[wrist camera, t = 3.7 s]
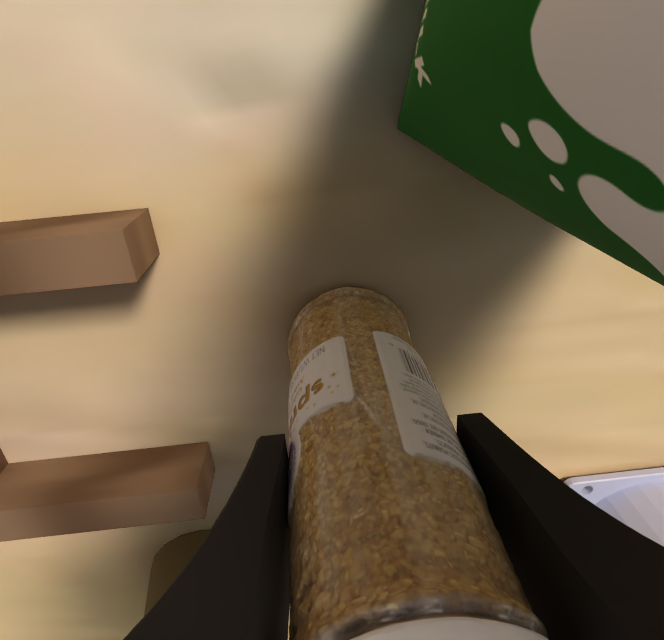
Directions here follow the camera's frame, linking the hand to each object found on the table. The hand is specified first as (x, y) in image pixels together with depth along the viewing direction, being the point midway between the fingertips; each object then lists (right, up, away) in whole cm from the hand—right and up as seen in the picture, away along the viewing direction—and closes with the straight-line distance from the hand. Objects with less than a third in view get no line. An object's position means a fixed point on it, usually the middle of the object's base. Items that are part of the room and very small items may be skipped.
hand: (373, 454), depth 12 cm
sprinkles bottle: (0, +3, +6) cm, 6 cm away
